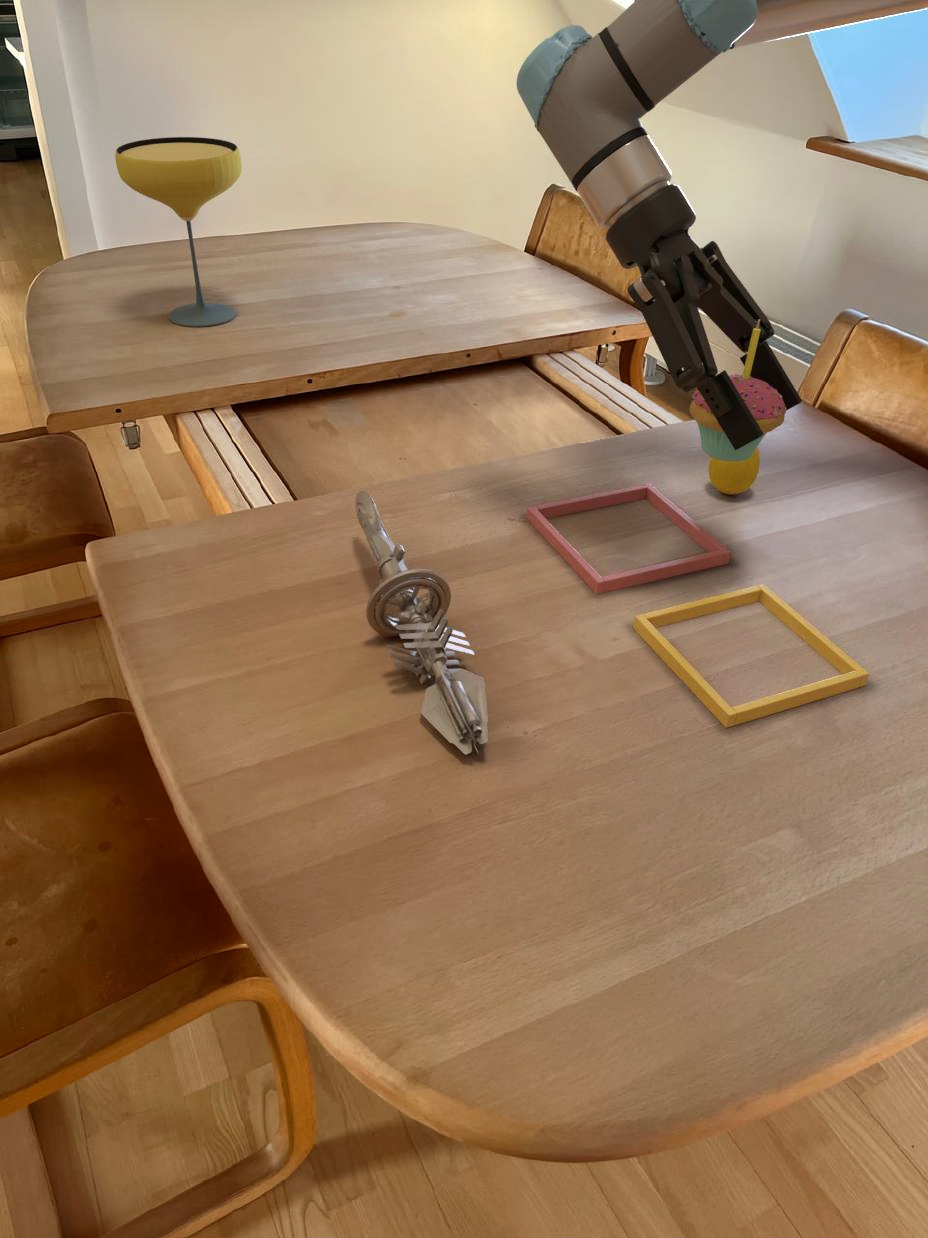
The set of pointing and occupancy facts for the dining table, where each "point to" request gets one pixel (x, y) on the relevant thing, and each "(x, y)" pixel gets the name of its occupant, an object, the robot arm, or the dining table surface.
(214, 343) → the dining table surface
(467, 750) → the spaceship
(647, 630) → the yellow square frame
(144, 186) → the cocktail glass
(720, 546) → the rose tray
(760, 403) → the cupcake
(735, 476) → the lemon
